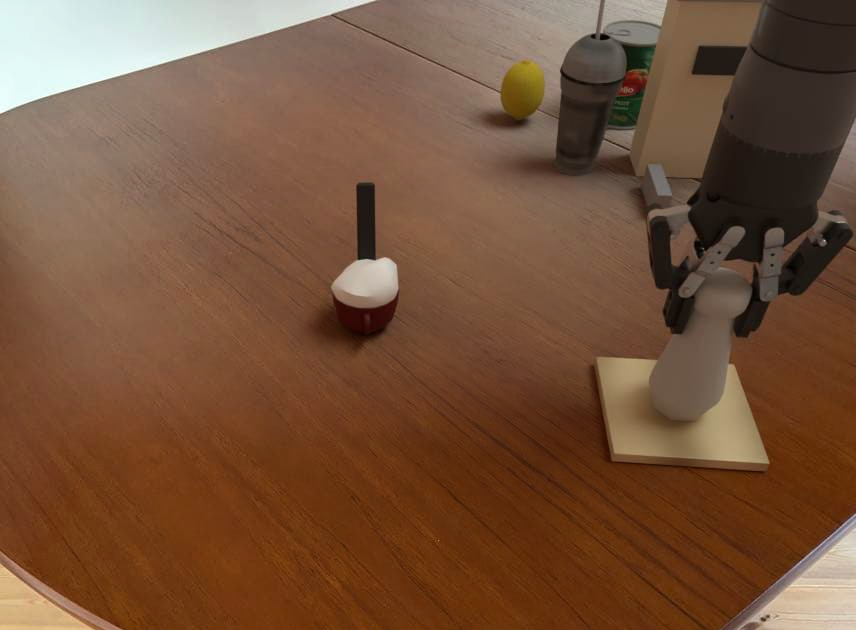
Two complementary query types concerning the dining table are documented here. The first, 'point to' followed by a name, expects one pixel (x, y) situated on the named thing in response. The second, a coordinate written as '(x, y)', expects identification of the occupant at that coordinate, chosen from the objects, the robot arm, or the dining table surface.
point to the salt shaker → (700, 349)
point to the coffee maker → (688, 89)
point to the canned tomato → (632, 68)
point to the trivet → (675, 423)
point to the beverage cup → (587, 98)
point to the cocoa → (366, 275)
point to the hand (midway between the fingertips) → (706, 328)
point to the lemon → (522, 89)
